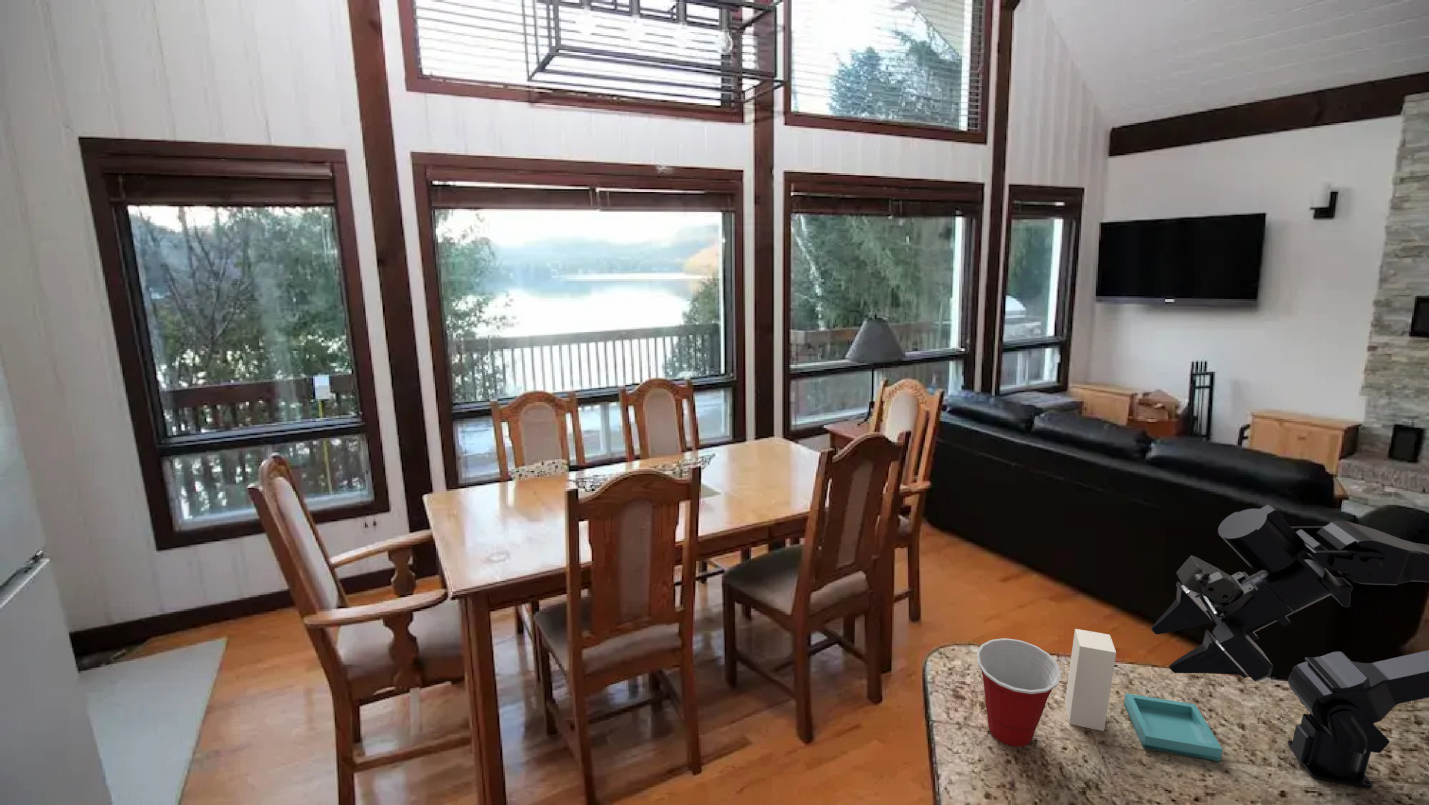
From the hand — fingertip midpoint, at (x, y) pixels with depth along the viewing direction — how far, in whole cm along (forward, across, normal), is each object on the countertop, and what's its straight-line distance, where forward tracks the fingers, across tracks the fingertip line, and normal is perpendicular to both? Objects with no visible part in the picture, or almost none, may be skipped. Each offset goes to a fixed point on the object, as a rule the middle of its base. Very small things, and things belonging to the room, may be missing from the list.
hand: (1161, 649), depth 91 cm
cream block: (+15, 0, +4) cm, 16 cm away
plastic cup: (+23, +7, -4) cm, 24 cm away
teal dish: (+7, -1, +11) cm, 14 cm away
